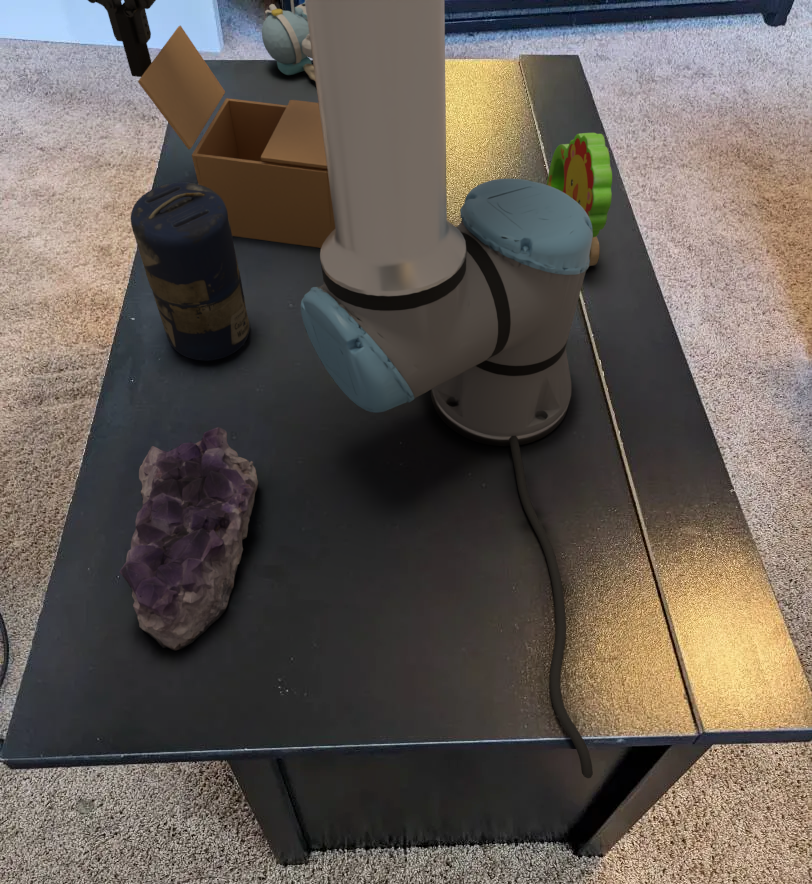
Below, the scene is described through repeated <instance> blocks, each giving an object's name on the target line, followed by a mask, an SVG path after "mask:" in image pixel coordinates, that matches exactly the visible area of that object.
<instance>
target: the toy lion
mask: <svg viewBox="0 0 812 884" xmlns="http://www.w3.org/2000/svg"><path fill="white" fill-rule="evenodd" d="M548 169H549V170H548V174H547V180H546V185H548V186H551V187H553V188H556V189H558V190H560V191H562V192H563V193H565V194H567V195H568V196H570V197H571V198H573V199H574V200H575V201H576V202H577V203H579V204H580V205H581V206H582V208H583V209H584V210H585V212H586V213H587V215H588V216H589V218H590V221H591V224H592V232H593V238H592V244H591V249H590V254H589V257H590V262H589V267H592V266H596V265H597V264H598V262H599V259H600V242H599V238H598V237H597V236H598V235H599V234H600V231H601V230H603V229H604V228H605V227H606V223H607V220H608V212H609V211H610V208H611V205H612V200H613V199H612V198H613V197H612V194H613V193H612V185H613V170H612V167H611V157H610V151H609V148H608V147H607V146H606V139H605V136H604V134H603V133H596V132H583V133H576V134H575V136H574V137H573V139H571V140H570V141H569V143H562V144H561V143H560V144H559V145H557V146H556V148H555V150H554V151H553V154H552V157H551V161H550V165H549V168H548Z"/></svg>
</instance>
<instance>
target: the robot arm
mask: <svg viewBox="0 0 812 884" xmlns="http://www.w3.org/2000/svg"><path fill="white" fill-rule="evenodd" d="M87 1H88V2H89V3H91V4H95V3H97V4H98V5H100V6H102V7H103V8H104V10H106V12H107V16H108V19H109V23H110V26H111V30H112V32H113V36H114V38H115V40H116V41H117V42H122V46H123V49H124V52H125V53H124V54H125V56H126V60H127V63H128V68H129V71H130V75H131V77H137V78H141V77H142V75H143V74H144V73H145V71H146V70H147V68H148V67H149V66H150V64H151V63H152V62H153V61H152V58H151V55H150V51H149V46H148V42H149V41H150V40H151V37H152V32H151V28H150V25H149V20H148V19H149V18H148V16H147V11H146V10H149V9H150V8H151V7H152V6H153V5H154V3H155V2H156V1H157V0H87ZM122 1H124V2H122ZM304 2H305V6H306V13H307V21H308V28H309V36H310V43H311V51H312V58H313V59H312V58H311V59H312V63H313V64H312V65H314V73H315V80H316V81H315V86H316V87H315V88H316V94H317V103H319V110H320V118H321V125H322V132H323V140H324V147H325V155H326V162H327V170H328V177H329V184H330V192H331V199H332V207H333V214H334V222H335V229H334V230H333V231H332V232H331V233H330V235H329V236H328V237H327V238H326V240H325V241H324V243H323V245H322V247H321V248H320V252H319V259H320V267H321V273H322V279H323V283H322V285H321V286H313V287H311V288H310V290H309V291H307V292H306V293H305V294H304V296H303V298H302V299H301V301H300V313H301V314H300V315H301V318H302V322H303V325H304V329H305V332H306V334H307V337H308V339H309V340H310V343H311V345H312V347H313V350H314V351H315V353H316V355H317V356H318V358H319V360H320V362H321V364H322V365H323V367H324V369H325V370H326V371H327V373H328V375H329V376H330V378H331V379H332V380H333V381H334V383H335V384H336V386H338V388H339V389H340V390H341V391H342V393H343V394H344V395H345V396H346V397H347V398H348V399H349V400H350V401H351V402H353V403H354V404H355V405H356V406H357V407H359V408H360V409H363V410H365V411H367V412H369V413H374V414H376V413H385V412H387V411H390V410H392V409H394V408H396V407H399V406H401V405H404V404H406V403H411V402H412V401H415V399H416V398H418V397H419V396H422V395H424V394H425V393H428V392H429V391H430V398H431V402H432V406H433V408H434V410H435V412H436V414H437V415H438V416H439V418H440V419H441V420H442V422H443V423H445V425H447V427H449V428H450V429H451V430H452V431H454V432H455V433H457V434H459V435H460V436H462V437H464V438H466V439H468V440H470V441H473V442H476V443H479V444H483V445H489V446H494V447H495V446H496V447H510V451H511V456H512V462H513V466H514V467H513V468H514V473H515V477H516V478H515V480H516V486H517V490H518V495H519V498H520V502H521V506H522V508H523V510H524V512H525V515H526V517H527V519H528V522H529V524H530V525H531V527H532V529H533V530H534V532H535V535H536V537H537V538H538V542H539V543H540V545H541V548H542V551H543V554H544V556H545V560H546V563H547V566H548V567H547V568H548V572H549V576H550V581H551V586H552V593H553V594H552V595H553V604H554V619H555V621H554V623H555V637H554V643H553V644H554V645H553V649H552V654H551V655H552V656H551V661H550V669H549V693H550V700H551V704H552V708H553V710H554V713H555V715H556V717H557V719H558V721H559V723H560V724H561V726H562V727H563V729H564V730H565V732H566V734H567V736H568V737H569V738H570V740H571V742H572V744H573V745H574V747H575V749H576V751H577V755H578V758H579V763H580V770H581V775H582V776H583V777H584V778H585V779H591V778H592V777H593V774H594V772H593V763H592V759H591V754H590V751H589V748H588V746H587V744H586V742H585V740H584V738H583V736H582V735H581V733H580V731H579V730H578V728H577V727H576V725H575V723H574V722H573V721H572V719H571V717H570V715H569V713H568V711H567V710H566V709H567V708H566V707H565V705H564V701H563V695H562V688H561V673H562V665H563V659H564V654H565V646H566V639H567V638H566V637H567V619H566V605H565V597H564V595H565V594H564V589H563V582H562V578H561V577H562V576H561V573H560V568H559V565H558V561H557V557H556V554H555V551H554V548H553V546H552V543H551V541H550V539H549V537H548V534H547V532H546V531H545V528H544V527H543V524H542V523H541V521H540V519H539V517H538V515H537V512H536V511H535V509H534V506H533V503H532V500H531V498H530V494H529V490H528V485H527V479H526V474H525V468H524V462H523V457H522V453H521V448H520V446H522V445H527V444H530V443H533V442H536V441H539V440H541V439H543V438H545V437H547V436H548V435H550V434H551V433H552V432H553V431H555V430H556V429H557V428H558V427H559V426H560V425H561V423H562V422H563V420H564V418H565V416H566V414H567V412H568V409H569V405H570V403H571V397H572V379H571V371H570V366H569V360H568V354H567V348H566V347H567V344H568V340H569V336H570V333H571V329H572V325H573V321H574V317H575V314H576V310H577V306H578V302H579V299H580V295H581V291H582V288H583V283H584V280H585V276H586V272H587V270H588V269H589V267H590V266H589V262H590V257H589V254H590V249H591V244H592V238H593V232H592V224H591V221H590V218H589V216H588V215H587V213H586V212H585V210H584V209H583V208H582V206H581V205H580V204H579V203H577V202H576V201H575V200H574V199H573V198H571V197H570V196H568V195H567V194H565V193H563V192H562V191H560V190H558V189H556V188H553V187H551V186H548V185H547V184H545V183H542V182H537V181H533V180H528V179H523V178H512V177H511V178H497V179H492V180H488V181H484V182H482V183H480V184H478V185H476V186H474V187H473V188H472V189H470V191H469V192H468V193H467V194H466V196H465V199H464V202H463V204H462V206H461V208H460V210H459V213H460V216H459V217H460V219H461V220H460V223H459V224H457V226H456V225H454V224H453V223H452V222H450V220H448V210H447V208H448V207H447V206H448V202H447V201H448V200H447V111H446V108H447V107H446V103H447V102H446V21H445V19H446V18H445V17H446V15H445V13H446V12H445V11H446V10H445V9H446V8H445V0H304Z"/></svg>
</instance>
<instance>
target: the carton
mask: <svg viewBox="0 0 812 884" xmlns="http://www.w3.org/2000/svg"><path fill="white" fill-rule="evenodd" d="M191 158H192V162H193V167H194V171H195V175H196V176H195V177H196V180H197V184H199V185H202V186H205V187H207V188H210V189H211V190H213V191H214V192H216V193H217V194H218V195H219V196H220V197H221V199H222V200H223V202H224V203H225V206H226V209H227V212H228V219H229V222H230V227H231V232H232V237H238V238H243V239H251V240H261V241H268V242H275V243H281V244H290V245H296V246H303V247H312V248H320V249H321V247H322V245H323V243H324V241H325V240H326V238H327V237H328V236H329V235H330V233H331V232H332V231H333V230H334V229H335V222H334V214H333V207H332V199H331V192H330V184H329V177H328V170H327V162H326V155H325V147H324V140H323V132H322V125H321V118H320V110H319V103H318V102H315V101H305V100H298V99H297V100H296V99H290V100H289V102H288V103H287V104H279V103H270V102H261V101H254V100H245V99H237V98H228V97H225V99H224V101H223V102H222V103H221V106H220V107H219V109H218V111H217V112H216V113H215V115H214V117H213V119H212V120H211V122H210V123H209V125H208V127H207V129H206V130H205V132H204V134H203V135H202V137H201V139H200V140H199V142H198V143H197V145H196V147H195V148H194V150H193V152H192V154H191Z"/></svg>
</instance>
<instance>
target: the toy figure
mask: <svg viewBox="0 0 812 884" xmlns="http://www.w3.org/2000/svg"><path fill="white" fill-rule="evenodd" d="M294 2H295V1H294V0H290V8H291V9H290V10H291V11H290V10H283V9H281V8H277V6H276V5H275V3H274V4H273V3H271V4H270V5H269V6H268V8H269V9H266V10H265V11H264V14H265V19H264V21H263V23H262V27H261V38H262V39H261V40H262V42H263V45H264V48H265V50H266V52H267V53H268V55H269V56H270V57H271V59H273V60H274V61H276V66H277V69H278V70H279V71H280V72H281V73H282V74H284V75H286V76H293V75H296V74H299V73H302V72H305V73H306V74H307V76H308V78H309V79H310V80H311V81H314V82H316V80H315V73H314V65H313V64H312V60H313V58H312V51H311V43H310V36H309V28H308V21H307V13H306V6H305V1H304V2H303V3H300V4H298V5H296V6H295V3H294ZM311 59H312V60H311Z"/></svg>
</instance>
